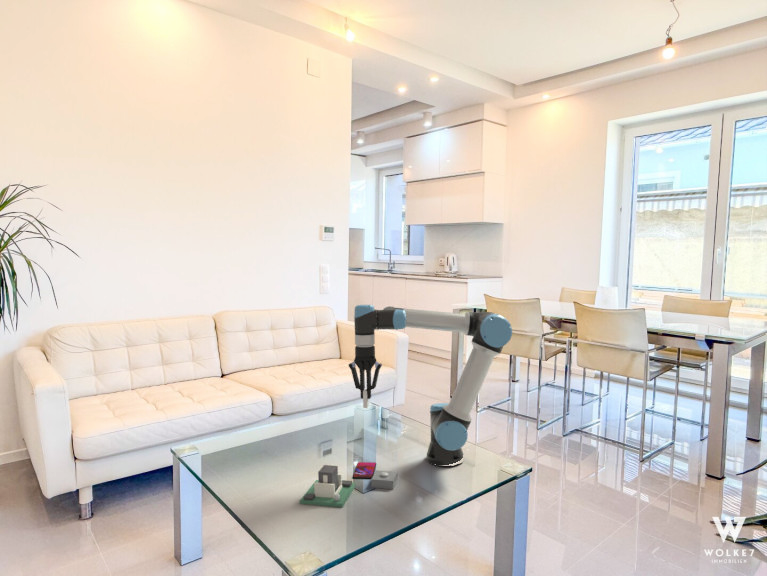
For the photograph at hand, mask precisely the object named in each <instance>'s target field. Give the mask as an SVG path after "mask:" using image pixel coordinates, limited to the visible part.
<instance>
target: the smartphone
mask: <svg viewBox="0 0 767 576" xmlns="http://www.w3.org/2000/svg"><path fill="white" fill-rule="evenodd" d="M376 466H377V463H376V462H375V461H374V462H371V461H370V462H369V461H368V462H367V461H366V462H365V461H364V462H363V461H361V462H360V461H358V462H357V464H356V467H355V469H354V472H353V475H352V478H353V479H354V480H360V479H361V480H371V479H372V477H373V475H374V474H375V472H376Z"/></svg>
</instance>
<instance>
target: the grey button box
mask: <svg viewBox="0 0 767 576" xmlns="http://www.w3.org/2000/svg"><path fill="white" fill-rule="evenodd" d="M370 480H371V481H370V483H371V488H374V489H385V490H386V489H387V490H394V488H395V487H396V484H397V481H398V471H390V470H376V469H375V471H374V475H373V477H372V479H370Z"/></svg>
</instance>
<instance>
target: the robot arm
mask: <svg viewBox="0 0 767 576" xmlns="http://www.w3.org/2000/svg"><path fill="white" fill-rule="evenodd" d="M353 317H354V318H353V319H354V345H355V346H354V356H355V357H354V359H353V361H352V362H350V363H348V367H349V369H350V371H351V375H352V379H353V382H354V387H355V389H357V390H359V392H360V399H361V400H362V402H363V403H362V405H363V407H362V408H363V409H368V408H369V406H370V403H369V402H370V399H372V391H373V390H374V389H376V387H377V383H378V380H379V373H380V370H381V368H382V366H383V364H382V363H380V362H379V361H377V358H376V347H375V342H376V341H375V340H376V339H375V337H376V335H375V333H376V332H375V330H396V331H397V330H404V329H405V328H411V329H412V328H413V329H424V330H432V331H442V332H443V331H444V332H453V333H462V334H464V335H465V336H469V337H470V336H471V337H472V340H471V342H470V343H471V345H472V349H471V352H470V354H469V356H468V359H467V361H466V363H465V366H464V367H463V370H462V373H461V375H460V377H459V380H458V382H457V384H456V387H455V390H454V391H453V393H452V396H451V397H450V401H449V402H447V403H446V402H445V403H444V402H441V403H434V404H431V406H430V408H429V413H430V442H429V446H428V449H427V452H426V461H427V463H429V464H431V463H432V464H431V465H433V464H436V465H449V464H453V463H456V462H458V461H460V460H461V459H462V458H463V455H464V452H463V449H462V448H463V447H464V446H465V445H466V443H467V442H468V441H467V440H468V430H469V427H470V425H471V423H472V420H473V419H472V417H471V412H472V410H473V407H474V405H475V403H476V400H477V398H478V397H479V396H478V395H479V394H480V391H481V389H482V387H483V383H484V382H485V379H486V377H487V376H488V373H489V371H490V368H491V366H492V363H493V361H494V359H495V357H496V356H499V355H500V354H501V353H502V350H503V349H504V346H506V345H508V343H509V342H510V341H511V338H512V336H513V328H512V325H511V323H510V321H509V320H508V319H507V318H506V317H504V316H503V315H501V314H498V313H496V312H490V311H478V312H473V311H467V312H465V313H457V312H446V311H437V310H436V311H435V310H426V309H425V310H424V309H416V308H415V309H413V308H412V309H411V308H401V307H394V306H385V307H384V308H383V309H375V306H374V305H373V304H357V305H356V306H354V316H353ZM356 366H357V368H358V369H359V376H358V371H357V368H356ZM373 367H374V368H375V370H374V375H373V377H372V369H373ZM365 373H366V378H365ZM365 379H366V381H365ZM365 383H366V387H365ZM436 465H435V466H436Z"/></svg>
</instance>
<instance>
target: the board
mask: <svg viewBox="0 0 767 576" xmlns="http://www.w3.org/2000/svg"><path fill="white" fill-rule="evenodd" d="M355 488H356V482H353V480H347V479H343V474H342V473H338V489H337V490H336V492H335V484H330V483H319V480H318V479H315V481H314V482H313V483H312V484H311V486H310V487H309V488H308V490H306V492H305V493H304V494H303V496H301V498H300V500H299V504H300V505H308V506H309V505H310V506H321V507H335V508H344V506H345V504H346V503H347V501H348V499H349V498H350V496H351V495H352V492H353V491H354V489H355Z"/></svg>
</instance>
